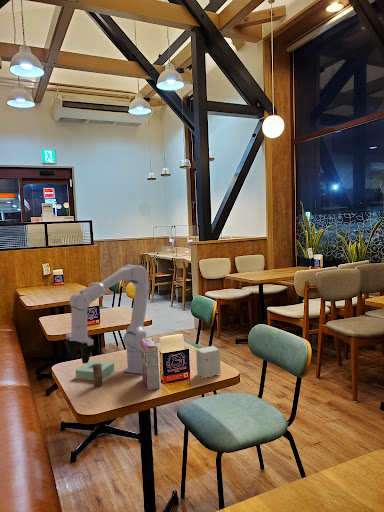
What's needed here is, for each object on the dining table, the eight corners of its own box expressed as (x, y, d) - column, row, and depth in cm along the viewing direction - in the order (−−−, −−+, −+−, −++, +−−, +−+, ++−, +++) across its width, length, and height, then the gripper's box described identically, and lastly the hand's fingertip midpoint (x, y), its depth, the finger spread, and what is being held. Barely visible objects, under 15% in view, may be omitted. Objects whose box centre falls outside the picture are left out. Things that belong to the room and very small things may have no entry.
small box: (214, 370, 155) (213, 345, 154) (221, 375, 150) (220, 349, 149) (196, 374, 151) (195, 348, 151) (203, 379, 146) (202, 352, 146)
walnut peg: (104, 384, 145) (103, 363, 144) (99, 387, 142) (98, 367, 141) (97, 383, 146) (95, 363, 145) (92, 386, 143) (91, 366, 142)
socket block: (114, 370, 158) (113, 362, 158) (100, 381, 148) (99, 372, 148) (91, 368, 162) (91, 360, 161) (76, 378, 151) (75, 370, 151)
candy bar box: (141, 379, 148) (139, 338, 147) (154, 377, 150) (152, 337, 148) (146, 391, 138) (144, 347, 136) (160, 389, 139) (158, 345, 138)
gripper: (59, 324, 144) (59, 359, 144) (81, 330, 135) (81, 367, 135) (75, 321, 149) (75, 355, 150) (98, 326, 140) (97, 362, 141)
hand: (79, 360), depth 143 cm, fingers open, 7 cm apart
